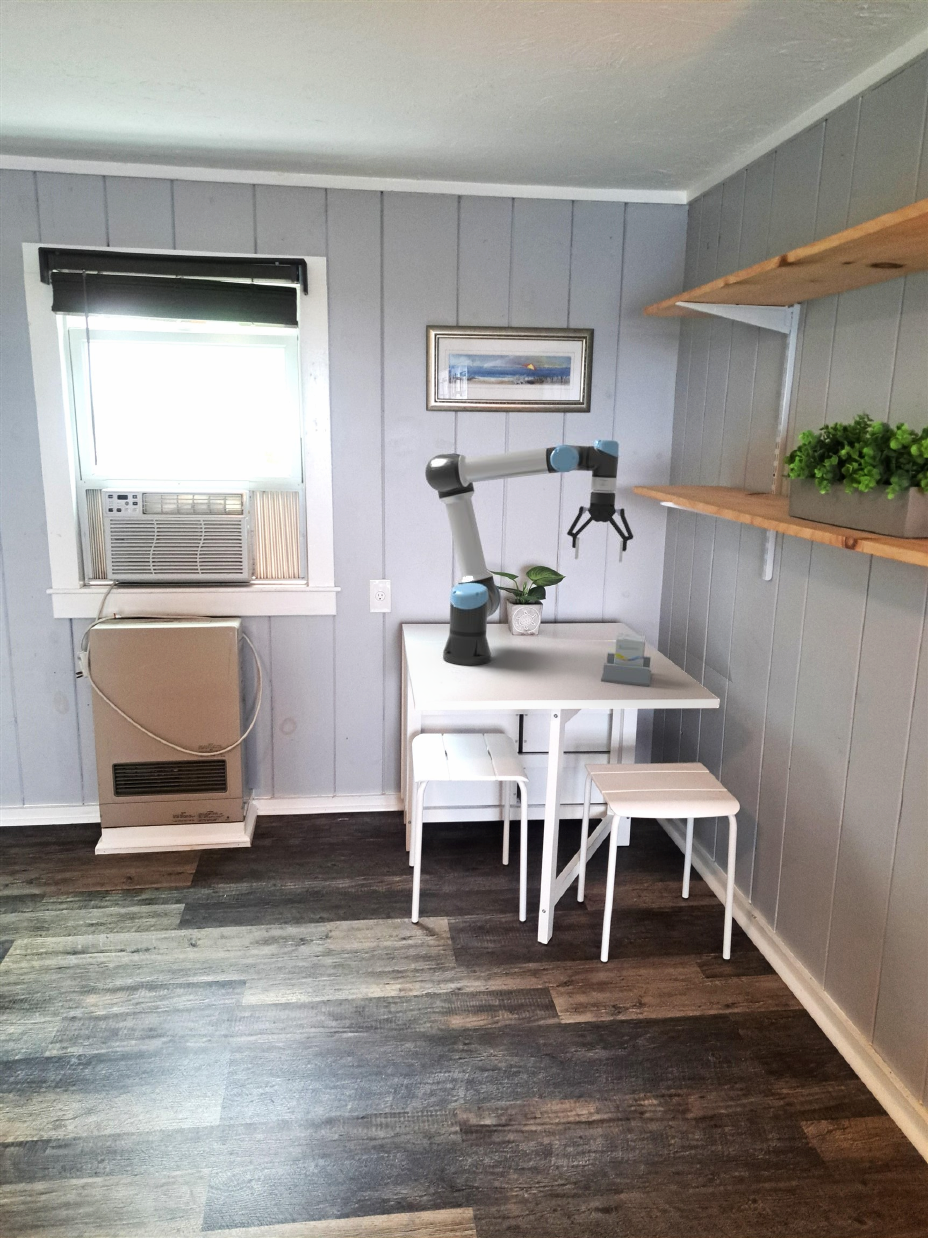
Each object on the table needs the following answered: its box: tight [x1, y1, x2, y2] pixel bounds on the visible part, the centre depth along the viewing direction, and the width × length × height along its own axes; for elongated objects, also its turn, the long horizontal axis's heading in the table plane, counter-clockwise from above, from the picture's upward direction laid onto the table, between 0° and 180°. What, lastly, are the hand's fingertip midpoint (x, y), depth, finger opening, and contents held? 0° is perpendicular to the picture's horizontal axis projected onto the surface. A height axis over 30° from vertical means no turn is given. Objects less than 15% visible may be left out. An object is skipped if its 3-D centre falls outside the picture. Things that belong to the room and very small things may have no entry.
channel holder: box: [600, 652, 652, 687], centre depth 252 cm, size 14×15×5 cm
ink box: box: [614, 632, 646, 667], centre depth 251 cm, size 9×9×12 cm
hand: (598, 560), depth 262 cm, fingers open, 13 cm apart
